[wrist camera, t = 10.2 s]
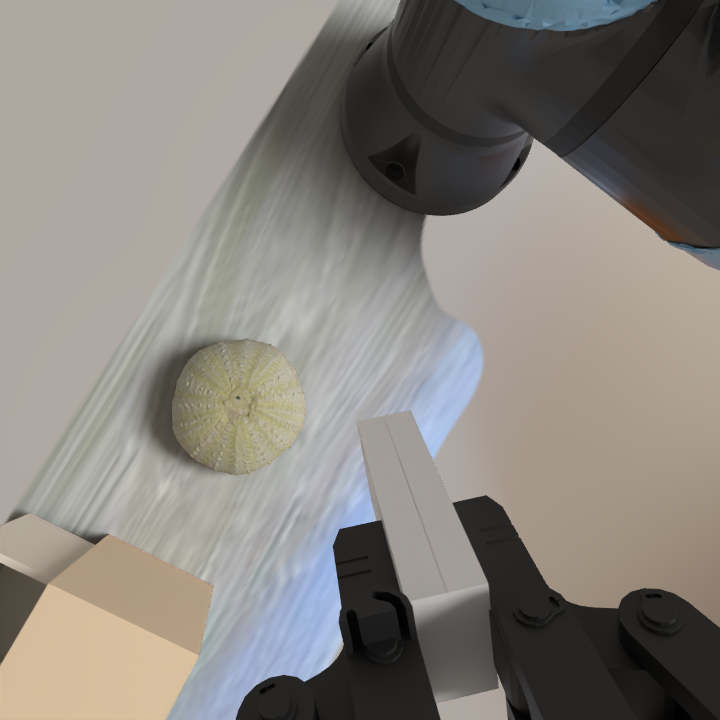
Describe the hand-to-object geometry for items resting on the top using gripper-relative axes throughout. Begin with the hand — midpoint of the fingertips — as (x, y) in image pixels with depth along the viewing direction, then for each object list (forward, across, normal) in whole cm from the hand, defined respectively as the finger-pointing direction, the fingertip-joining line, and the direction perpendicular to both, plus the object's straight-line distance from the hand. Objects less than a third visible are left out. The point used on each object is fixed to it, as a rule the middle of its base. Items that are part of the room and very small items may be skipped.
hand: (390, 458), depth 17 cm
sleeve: (+18, -18, -22) cm, 34 cm away
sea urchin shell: (+26, -8, -10) cm, 29 cm away
